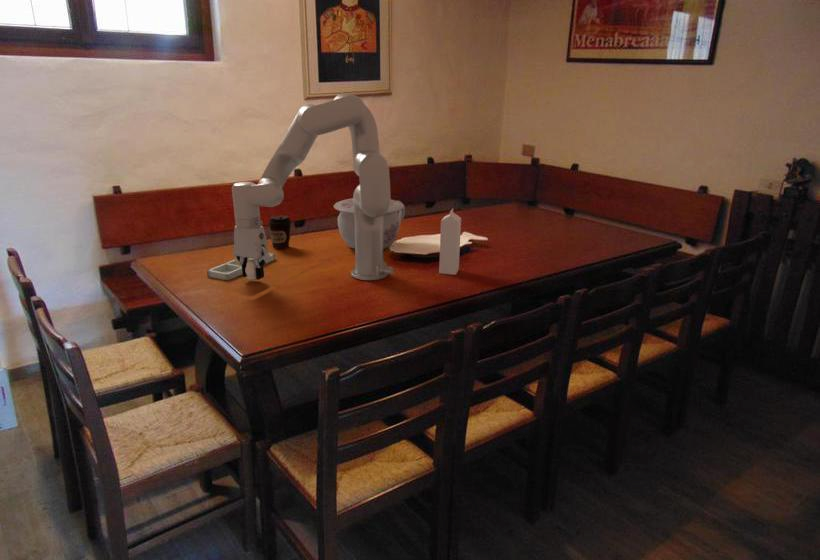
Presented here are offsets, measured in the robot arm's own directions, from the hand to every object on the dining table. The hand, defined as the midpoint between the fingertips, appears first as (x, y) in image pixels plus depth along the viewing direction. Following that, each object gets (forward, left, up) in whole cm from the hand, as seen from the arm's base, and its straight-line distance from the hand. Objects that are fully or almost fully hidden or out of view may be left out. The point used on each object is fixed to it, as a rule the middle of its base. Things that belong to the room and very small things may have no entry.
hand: (253, 276), depth 189 cm
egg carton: (+17, -10, -3) cm, 20 cm away
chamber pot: (-13, -56, -3) cm, 57 cm away
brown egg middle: (+12, -10, -2) cm, 16 cm away
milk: (-52, -42, -3) cm, 66 cm away
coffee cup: (+15, -36, -3) cm, 39 cm away
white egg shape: (0, 0, 0) cm, 0 cm away
